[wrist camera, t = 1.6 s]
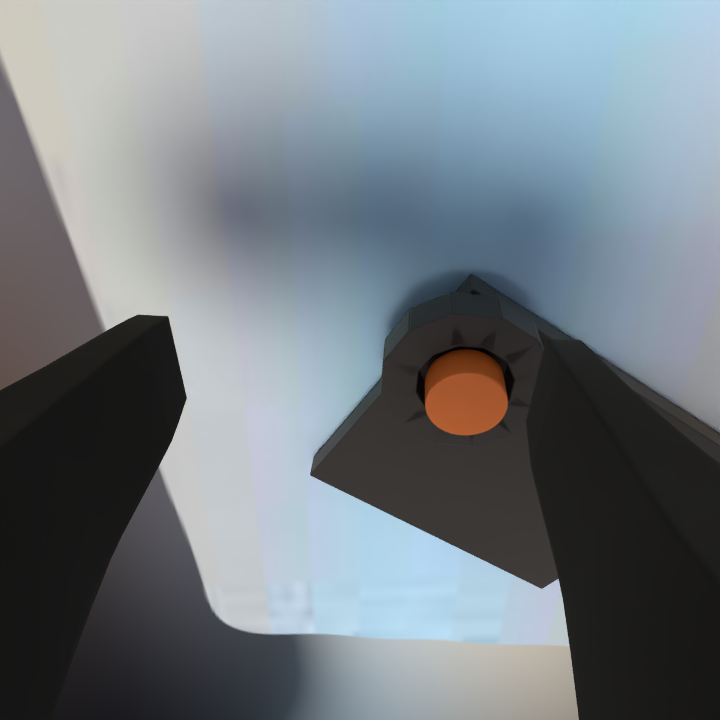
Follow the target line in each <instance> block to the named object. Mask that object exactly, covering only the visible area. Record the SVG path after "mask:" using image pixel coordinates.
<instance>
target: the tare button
mask: <svg viewBox="0 0 720 720" xmlns="http://www.w3.org/2000/svg"><path fill="white" fill-rule="evenodd" d="M507 408H508V397H507V392H506V387H505V381H504V376H503V372H502V369H501V367H500V365H499V364H498V363H497V362H496V361H495V360H494V359H493V358H492V357H490V356H489V355H487V354H485V353H483V352H480V351H477V350H471V349H460V350H454V351H451V352H448V353H445V354H443V355H442V356H440V357H439V358H437V359H436V360H435V361H434V362H433V363H432V364H431V365H430V367H429V368H428V370H427V373H426V376H425V410H426V413H427V415H428V417H429V418H430V420H431V421H432V422H433V423H434V424H435V425H436V426H437V427H438V428H440V429H442V430H444V431H446V432H448V433H452V434H456V435H475V434H479V433H483V432H485V431H488V430H490V429H491V428H493V427H494V426H496V425H497V424H498V423H499V422H500V421H501V420H502V419H503V417H504V415H505V413H506V411H507Z"/></svg>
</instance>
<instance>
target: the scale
mask: <svg viewBox="0 0 720 720" xmlns="http://www.w3.org/2000/svg"><path fill="white" fill-rule="evenodd" d="M546 338H548V339H566V340H573V339H572V338H570V337H569V336H567V335H566V334H564V333H563V332H561V331H560V330H558V329H556V328H555V327H553V326H552V325H550V324H549V323H547V322H546V321H544V320H543V319H541V318H539V317H538V316H536V315H535V314H533V313H532V312H530V311H529V310H527V309H526V308H524V307H522V306H521V305H519V304H518V303H516V302H515V301H513V300H512V299H510V298H509V297H507V296H505V295H504V294H502V293H501V292H499V291H498V290H496V289H495V288H493V287H492V286H490V285H488V284H487V283H485V282H484V281H482V280H481V279H479V278H478V277H476V276H474V275H473V274H471V275H470V276H469V277H468V278H467V279H466V280H465V282H464V283H463V284H462V285H461V286H460V287H459V289H458V290H457V291H456V292H452V293H448V294H445V295H443V296H440V297H438V298H435V299H433V300H430V301H428V302H425V303H423V304H420V305H418V306H415V307H413V308H411V309H410V310H409V311H408V312H407V313H406V314H405V315H404V317H403V318H402V319H401V320H400V322H399V323H398V324H397V325H396V326H395V328H394V329H393V330H392V331H391V333H390V334H389V335H388V336H387V338H386V340H385V347H384V357H383V368H382V378H381V379H380V381H379V382H378V383H377V384H376V385H375V386H374V388H373V389H372V390H371V391H370V392H369V393H368V395H367V396H366V397H365V398H364V399H363V400H362V402H361V403H360V404H359V405H358V406H357V407H356V409H355V410H354V411H353V412H352V413H351V414H350V416H349V417H348V418H347V419H346V420H345V421H344V423H343V424H342V425H341V426H340V427H339V428H338V430H337V431H336V432H335V433H334V434H333V435H332V437H331V438H330V439H329V440H328V441H327V442H326V444H325V445H324V446H323V447H322V448H321V449H320V451H319V452H318V453H317V454H316V455H315V456H314V459H313V463H312V468H311V473H310V475H311V476H313V477H315V478H317V479H319V480H321V481H323V482H325V483H327V484H329V485H331V486H333V487H335V488H337V489H339V490H341V491H343V492H345V493H347V494H349V495H351V496H353V497H356V498H358V499H360V500H362V501H364V502H366V503H368V504H370V505H372V506H374V507H376V508H378V509H380V510H382V511H384V512H386V513H388V514H390V515H392V516H394V517H396V518H398V519H400V520H402V521H405V522H407V523H409V524H411V525H413V526H415V527H417V528H419V529H421V530H423V531H425V532H427V533H429V534H431V535H433V536H435V537H437V538H439V539H441V540H443V541H445V542H447V543H449V544H451V545H453V546H456V547H458V548H460V549H462V550H464V551H466V552H468V553H470V554H472V555H474V556H476V557H478V558H480V559H482V560H484V561H486V562H488V563H490V564H492V565H494V566H496V567H498V568H500V569H502V570H505V571H507V572H509V573H511V574H513V575H515V576H517V577H519V578H521V579H523V580H525V581H527V582H529V583H531V584H533V585H535V586H537V587H539V588H544V587H546V586H547V585H549V584H550V583H552V582H554V581H555V580H557V579H558V573H557V569H556V565H555V561H554V557H553V553H552V549H551V545H550V542H549V538H548V534H547V530H546V526H545V522H544V518H543V514H542V510H541V506H540V502H539V498H538V494H537V490H536V486H535V482H534V478H533V474H532V469H531V463H530V455H529V447H528V436H527V426H526V419H527V415H528V411H529V407H530V403H531V399H532V395H533V391H534V387H535V382H536V378H537V374H538V370H539V366H540V362H541V358H542V354H543V350H544V346H545V342H546ZM460 349H471V350H477V351H480V352H483V353H485V354H487V355H489V356H490V357H492V358H493V359H494V360H495V361H496V362H497V363H498V364H499V365H500V367H501V369H502V372H503V376H504V381H505V387H506V392H507V397H508V408H507V411H506V413H505V415H504V417H503V419H502V420H501V421H500V422H499V423H498V424H497V425H496V426H494V427H493V428H491V429H490V430H488V431H485V432H483V433H479V434H475V435H456V434H452V433H448V432H446V431H444V430H442V429H440V428H438V427H437V426H436V425H435V424H434V423H433V422H432V421H431V420H430V418H429V417H428V415H427V413H426V410H425V376H426V373H427V370H428V368H429V367H430V365H431V364H432V363H433V362H434V361H435V360H436V359H437V358H439V357H440V356H442V355H443V354H445V353H448V352H451V351H454V350H460ZM596 355H597V354H596ZM597 356H598V355H597ZM598 357H599V358H600V359H601V360H602V361H603V362H604V363H605V364H606V365H607V366H608V367H609V368H610V369H611V370H612V371H614V372H615V373H616V374H617V375H618V376H619V377H620V378H621V379H622V380H623V381H624V382H625V383H626V384H627V385H628V386H629V387H630V388H631V389H632V390H633V391H635V392H636V393H637V394H638V395H639V396H640V397H641V398H642V399H643V400H644V401H645V402H646V403H648V404H649V405H650V406H651V407H652V408H653V409H654V410H655V411H656V412H658V413H659V414H660V415H661V416H662V417H663V418H664V419H666V420H667V421H668V422H669V423H670V424H671V425H673V426H674V427H675V428H676V429H677V430H679V431H680V432H681V433H682V434H683V435H685V436H686V437H687V438H688V439H690V440H691V441H692V442H693V443H695V444H696V445H697V446H698V447H699V448H701V449H702V450H703V451H704V452H706V453H707V454H708V455H710V456H711V457H712V458H714V459H715V460H716V461H717V462H719V463H720V434H719V433H717V432H716V431H714V430H713V429H711V428H710V427H708V426H707V425H705V424H703V423H702V422H700V421H699V420H697V419H696V418H694V417H693V416H691V415H689V414H688V413H686V412H685V411H683V410H682V409H680V408H679V407H677V406H676V405H674V404H672V403H671V402H669V401H668V400H666V399H665V398H663V397H662V396H660V395H659V394H657V393H655V392H654V391H652V390H651V389H649V388H648V387H646V386H645V385H643V384H642V383H640V382H638V381H637V380H635V379H634V378H632V377H631V376H629V375H628V374H626V373H625V372H623V371H621V370H620V369H618V368H617V367H615V366H614V365H612V364H611V363H609V362H608V361H606V360H604V359H603V358H601V357H600V356H598Z"/></svg>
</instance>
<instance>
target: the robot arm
mask: <svg viewBox="0 0 720 720" xmlns="http://www.w3.org/2000/svg"><path fill="white" fill-rule="evenodd" d="M186 399H187V397H186V393H185V388H184V384H183V379H182V375H181V371H180V366H179V362H178V357H177V353H176V349H175V344H174V340H173V335H172V331H171V327H170V322H169V318H168V316H152V315H136V316H134V317H132V318H130V319H128V320H126V321H124V322H122V323H120V324H118V325H116V326H114V327H113V328H111V329H109V330H107V331H106V332H104V333H102V334H100V335H99V336H97V337H95V338H94V339H92V340H90V341H88V342H87V343H85V344H83V345H81V346H80V347H78V348H76V349H75V350H73V351H71V352H69V353H68V354H66V355H65V356H62V357H61V358H59V359H57V360H56V361H54V362H52V363H50V364H49V365H47V366H46V367H43V368H42V369H40V370H38V371H36V372H34V373H32V374H30V375H28V376H26V377H25V378H23V379H21V380H19V381H17V382H15V383H13V384H11V385H10V386H8V387H6V388H4V389H2V390H0V720H52V719H53V716H54V713H55V709H56V707H57V704H58V701H59V698H60V695H61V691H62V689H63V686H64V683H65V680H66V677H67V674H68V671H69V668H70V665H71V662H72V659H73V656H74V653H75V651H76V648H77V645H78V643H79V640H80V637H81V634H82V632H83V629H84V626H85V624H86V621H87V618H88V615H89V612H90V610H91V607H92V604H93V602H94V600H95V597H96V595H97V592H98V590H99V587H100V585H101V582H102V580H103V577H104V575H105V572H106V570H107V567H108V565H109V562H110V559H111V557H112V555H113V553H114V551H115V549H116V547H117V545H118V542H119V540H120V538H121V536H122V534H123V533H124V531H125V529H126V527H127V525H128V523H129V521H130V519H131V518H132V516H133V514H134V512H135V510H136V508H137V506H138V504H139V502H140V501H141V499H142V497H143V495H144V493H145V491H146V489H147V487H148V486H149V484H150V482H151V480H152V478H153V476H154V474H155V472H156V470H157V469H158V467H159V465H160V463H161V461H162V459H163V457H164V455H165V453H166V451H167V449H168V447H169V445H170V443H171V441H172V439H173V436H174V433H175V431H176V428H177V425H178V423H179V420H180V417H181V414H182V411H183V408H184V405H185V402H186ZM526 426H527V436H528V447H529V455H530V463H531V469H532V474H533V478H534V482H535V486H536V490H537V494H538V498H539V502H540V506H541V510H542V514H543V518H544V522H545V526H546V530H547V534H548V538H549V542H550V545H551V549H552V553H553V557H554V561H555V565H556V569H557V573H558V578H559V582H560V587H561V592H562V597H563V603H564V610H565V617H566V624H567V630H568V637H569V644H570V651H571V659H572V667H573V674H574V683H575V690H576V698H577V706H578V715H579V720H720V463H719V462H717V461H716V460H715V459H714V458H712V457H711V456H710V455H708V454H707V453H706V452H704V451H703V450H702V449H701V448H699V447H698V446H697V445H696V444H695V443H693V442H692V441H691V440H690V439H688V438H687V437H686V436H685V435H683V434H682V433H681V432H680V431H679V430H677V429H676V428H675V427H674V426H673V425H671V424H670V423H669V422H668V421H667V420H666V419H664V418H663V417H662V416H661V415H660V414H659V413H658V412H656V411H655V410H654V409H653V408H652V407H651V406H650V405H649V404H648V403H646V402H645V401H644V400H643V399H642V398H641V397H640V396H639V395H638V394H637V393H636V392H635V391H633V390H632V389H631V388H630V387H629V386H628V385H627V384H626V383H625V382H624V381H623V380H622V379H621V378H620V377H619V376H618V375H617V374H616V373H615V372H614V371H612V370H611V369H610V368H609V367H608V366H607V365H606V364H605V363H604V362H603V361H602V360H601V359H600V358H599V357H598V356H597V355H596V354H595V353H594V352H593V351H592V350H591V349H589V348H588V347H587V346H586V345H585V344H584V343H583V342H582V341H580V340H566V339H548V338H546V342H545V346H544V350H543V354H542V358H541V362H540V366H539V370H538V374H537V378H536V382H535V387H534V391H533V395H532V399H531V403H530V407H529V411H528V415H527V419H526Z"/></svg>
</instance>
